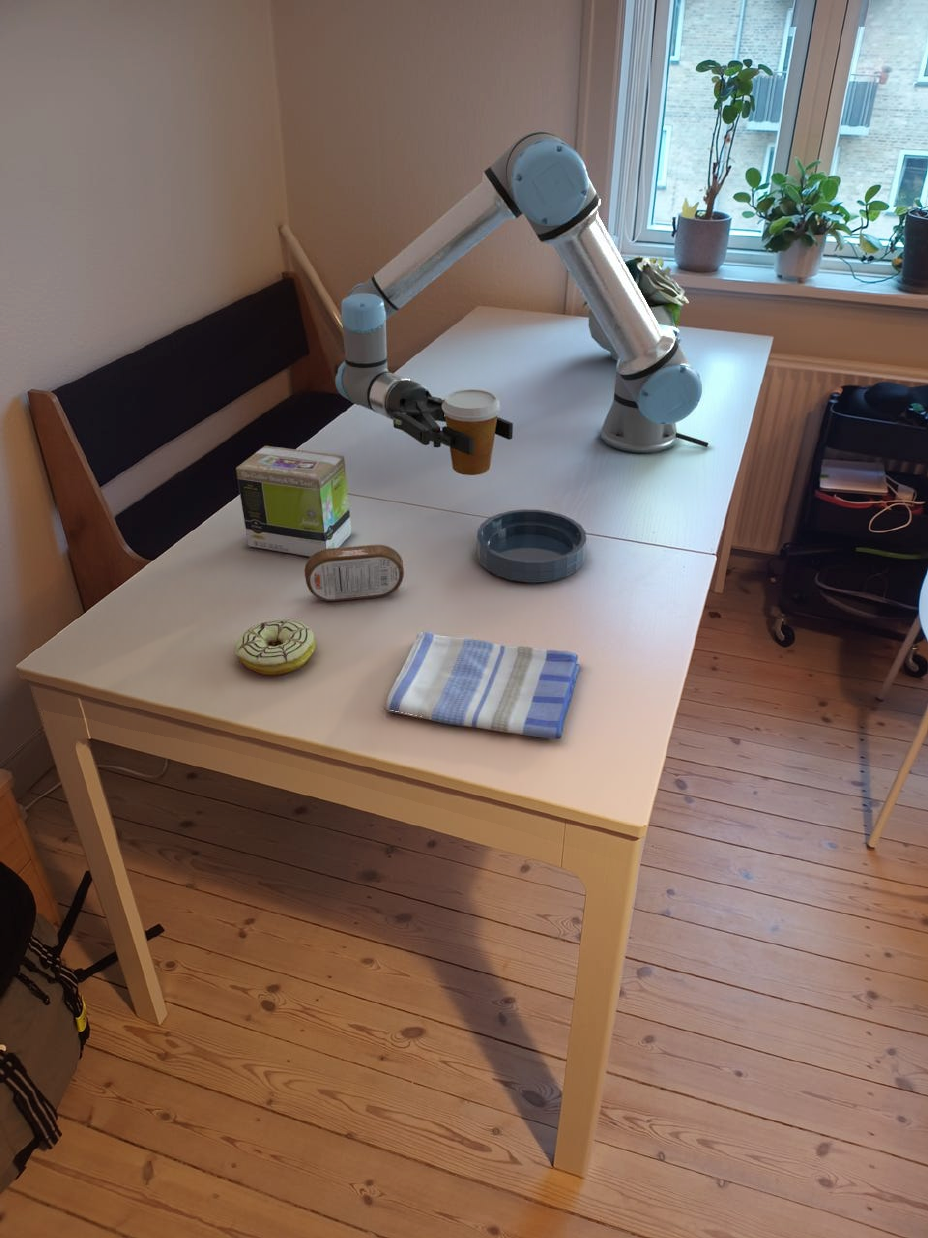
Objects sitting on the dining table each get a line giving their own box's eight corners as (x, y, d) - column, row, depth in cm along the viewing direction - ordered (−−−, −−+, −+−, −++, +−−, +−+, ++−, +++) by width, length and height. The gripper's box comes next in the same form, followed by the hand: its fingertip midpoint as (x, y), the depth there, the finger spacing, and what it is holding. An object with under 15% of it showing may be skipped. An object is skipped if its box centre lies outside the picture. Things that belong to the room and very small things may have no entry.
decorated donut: (261, 630, 138) (258, 608, 136) (328, 643, 135) (325, 621, 133) (224, 671, 130) (220, 648, 127) (294, 686, 127) (291, 663, 125)
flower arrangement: (687, 375, 225) (701, 269, 211) (583, 375, 225) (590, 269, 212) (670, 342, 245) (682, 243, 232) (574, 342, 246) (580, 244, 232)
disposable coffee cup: (494, 482, 152) (495, 411, 146) (437, 476, 154) (435, 407, 147) (504, 457, 160) (505, 390, 153) (449, 453, 162) (448, 385, 155)
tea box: (353, 533, 161) (346, 454, 153) (327, 562, 154) (318, 479, 145) (275, 520, 165) (264, 442, 157) (246, 547, 158) (233, 466, 149)
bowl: (581, 531, 162) (582, 510, 159) (587, 586, 147) (589, 563, 145) (478, 530, 162) (478, 508, 160) (475, 584, 148) (475, 561, 145)
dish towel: (419, 640, 135) (419, 624, 134) (582, 665, 130) (583, 649, 129) (379, 716, 121) (378, 699, 120) (560, 747, 116) (561, 729, 115)
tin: (403, 586, 147) (401, 539, 143) (406, 597, 145) (404, 549, 140) (307, 595, 145) (301, 548, 141) (307, 607, 143) (302, 559, 138)
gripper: (446, 405, 172) (536, 442, 158) (355, 436, 161) (442, 479, 147) (446, 365, 168) (537, 399, 154) (351, 394, 156) (441, 434, 143)
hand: (491, 438), depth 150 cm, fingers closed on disposable coffee cup, 8 cm apart
